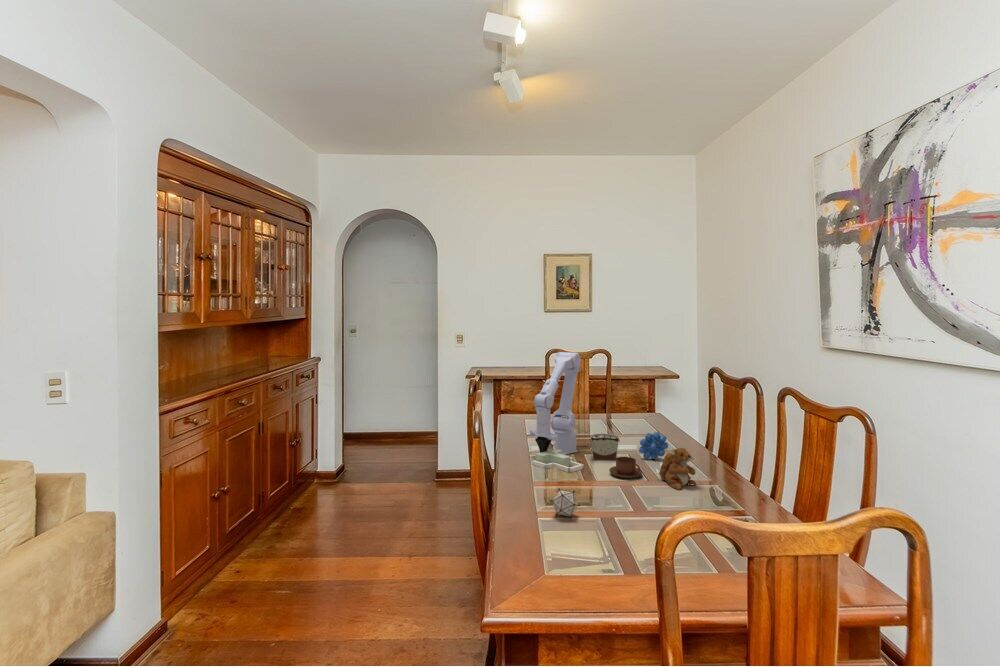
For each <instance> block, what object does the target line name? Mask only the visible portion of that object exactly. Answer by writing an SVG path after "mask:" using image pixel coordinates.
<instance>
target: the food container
mask: <svg viewBox="0 0 1000 667" xmlns="http://www.w3.org/2000/svg"><path fill="white" fill-rule="evenodd" d="M589 441H590V443H591V451H592V459H593V461H595V462H596V461H601V462H616V458H618V448H619V443H620V442H621V440H620V437H619V436H618V435H615V434H612V433H611V434H610V433H593V434H592V435H591V436H590V438H589Z"/></svg>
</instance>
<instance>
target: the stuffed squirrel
mask: <svg viewBox="0 0 1000 667" xmlns="http://www.w3.org/2000/svg"><path fill="white" fill-rule="evenodd" d="M663 457H664V458H663V459H662V460H663V461H662V463H661V465H660V469H659V470H660V471H659V472H658V474H659V477H660V479H661V480H662V481H663V480H666V481H665V482H667V484H668V486H670V488H673V489H675V490H678V491H679V490H682V487H684V485H685V486H687V485H686V484H689V485H688V486H691V485H690V484H696V485H697V482H696V480H693V479H692V478H691V476H694V475H696V469H695V468H694V467H692V466H690V465H689V464H688V463H689V462H691V461H693V460H694V458H693V457H692V456H691V454H690V453H689V451H688V450H687V449H686V448H685V447H678V448H672V449H671V453H670V452H667V453H665V455H664V456H663ZM690 475H691V476H690Z"/></svg>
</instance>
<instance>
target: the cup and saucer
mask: <svg viewBox="0 0 1000 667" xmlns="http://www.w3.org/2000/svg"><path fill="white" fill-rule="evenodd" d="M636 461H637V459H636V458H634V457H632V456H631V457H630V456H617V458H616V461H615V466H611V467H610V468H609V472H610V474H611V475H613V476H615V477H618V478H621V479H634V478H638V477H639V476H641V475H642V474H643V471H642V469H641V467H640V466H639V464H637V462H636Z"/></svg>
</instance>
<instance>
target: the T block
mask: <svg viewBox="0 0 1000 667" xmlns="http://www.w3.org/2000/svg"><path fill="white" fill-rule="evenodd" d="M534 457H535V458H534V460H535V461H538V462H541V463H544V464H549V463H553V462H554V463H557V464H560V465H563V466H566V467H569V468H570V467H571V465H570V464H571V456H569V455H567V454H566V455H563V451H562V450H558V449H555V448H554V449H550V450H549V449H548V450H547V451H545V452H541V453H540V452H538V453H534Z"/></svg>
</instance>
